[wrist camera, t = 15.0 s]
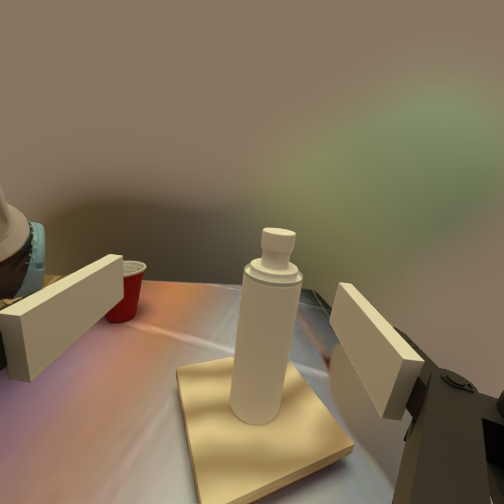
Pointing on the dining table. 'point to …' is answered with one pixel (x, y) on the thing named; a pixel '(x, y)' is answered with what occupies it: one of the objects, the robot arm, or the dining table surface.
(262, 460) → the stand
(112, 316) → the plastic cup
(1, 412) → the dining table surface
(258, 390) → the spray bottle
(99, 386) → the dining table surface
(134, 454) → the dining table surface
